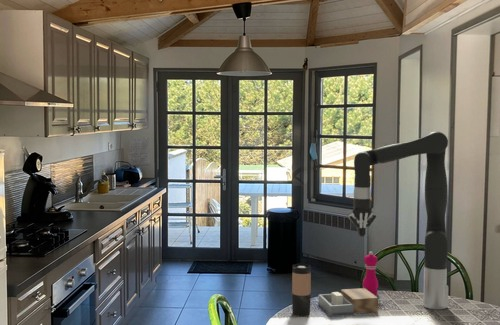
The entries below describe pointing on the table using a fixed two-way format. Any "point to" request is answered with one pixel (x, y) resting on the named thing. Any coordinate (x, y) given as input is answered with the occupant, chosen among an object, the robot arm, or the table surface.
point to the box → (333, 310)
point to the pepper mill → (370, 273)
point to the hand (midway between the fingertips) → (361, 236)
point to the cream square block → (337, 298)
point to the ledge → (361, 300)
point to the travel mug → (301, 289)
